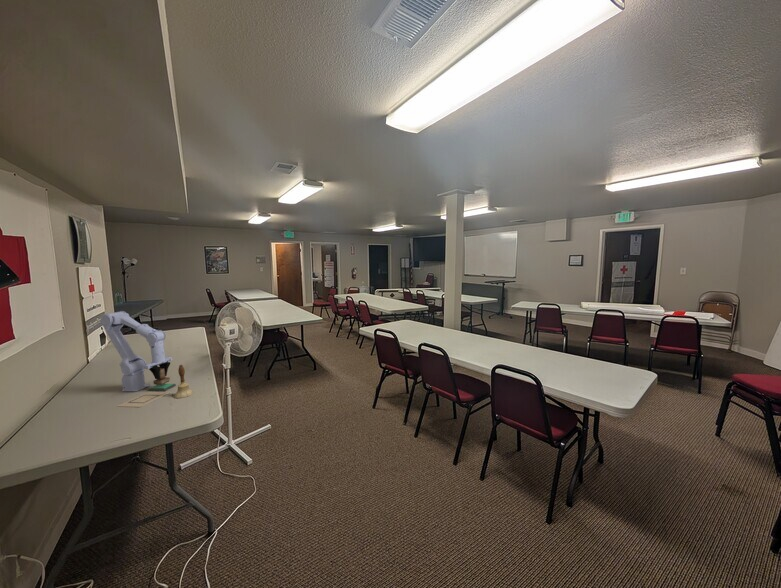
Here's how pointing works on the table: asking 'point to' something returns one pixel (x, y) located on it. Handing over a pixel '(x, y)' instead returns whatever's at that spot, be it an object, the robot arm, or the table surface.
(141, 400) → the plate
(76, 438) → the table surface
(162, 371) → the stamp
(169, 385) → the ink pad
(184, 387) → the hand bell
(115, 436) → the table surface
